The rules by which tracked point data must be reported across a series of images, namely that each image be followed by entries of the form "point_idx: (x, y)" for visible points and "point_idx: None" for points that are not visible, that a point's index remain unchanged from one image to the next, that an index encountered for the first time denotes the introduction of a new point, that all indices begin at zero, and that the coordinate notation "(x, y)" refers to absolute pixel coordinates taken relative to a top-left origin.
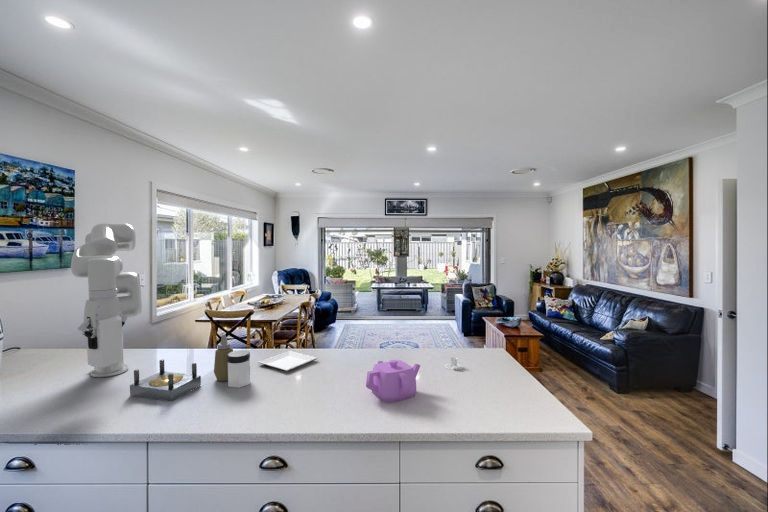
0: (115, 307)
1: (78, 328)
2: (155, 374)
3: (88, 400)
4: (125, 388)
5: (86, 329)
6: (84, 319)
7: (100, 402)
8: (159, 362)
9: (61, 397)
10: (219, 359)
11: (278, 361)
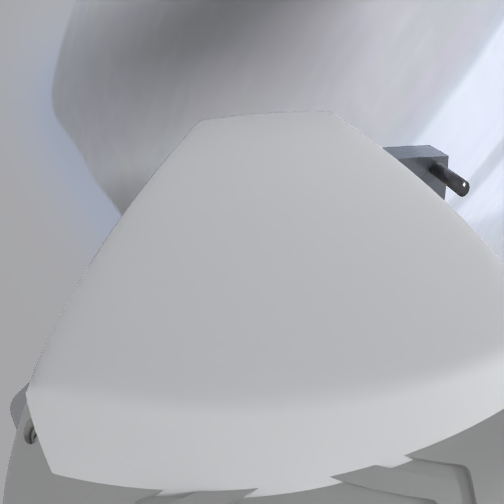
0: None
1: (17, 412)
2: (422, 160)
3: (236, 62)
4: (353, 80)
5: (92, 268)
6: (22, 483)
7: (246, 114)
8: (455, 181)
9: None
10: None
11: None
